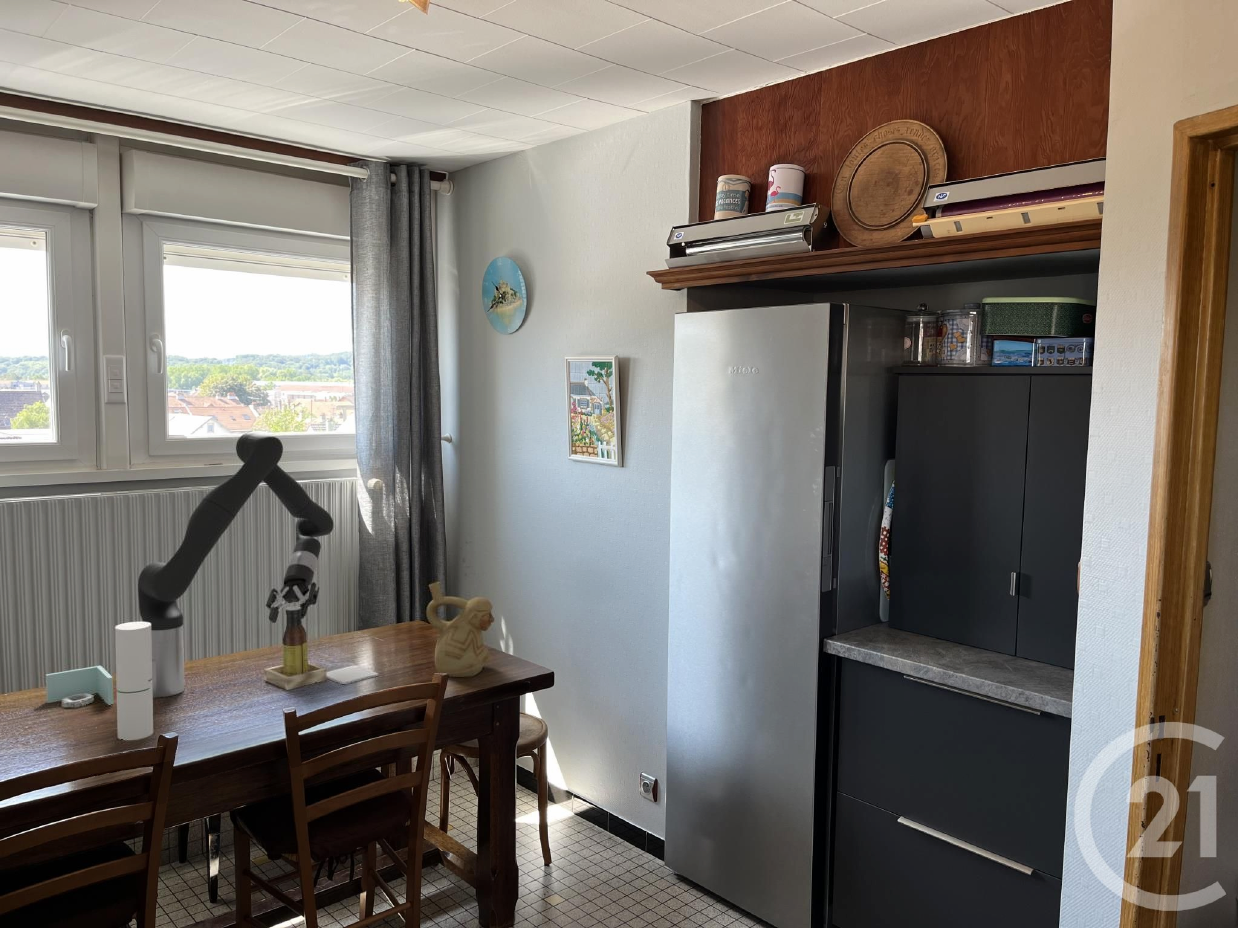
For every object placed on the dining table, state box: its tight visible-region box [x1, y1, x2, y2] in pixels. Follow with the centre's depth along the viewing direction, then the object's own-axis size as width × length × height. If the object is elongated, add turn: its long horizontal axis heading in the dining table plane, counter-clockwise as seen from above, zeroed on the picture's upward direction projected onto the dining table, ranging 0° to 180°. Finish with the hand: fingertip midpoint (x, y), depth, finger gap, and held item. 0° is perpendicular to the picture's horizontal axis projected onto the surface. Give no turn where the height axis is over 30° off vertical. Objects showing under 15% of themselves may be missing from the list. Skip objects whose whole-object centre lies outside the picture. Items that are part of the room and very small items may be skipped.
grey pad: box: [326, 664, 379, 685], centre depth 254 cm, size 11×11×1 cm
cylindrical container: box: [114, 621, 154, 741], centre depth 208 cm, size 7×7×25 cm
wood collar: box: [263, 661, 327, 691], centre depth 249 cm, size 12×12×3 cm
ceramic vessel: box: [425, 581, 495, 678], centre depth 260 cm, size 17×20×25 cm
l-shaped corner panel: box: [45, 665, 114, 708], centre depth 228 cm, size 12×12×8 cm
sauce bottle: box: [282, 605, 309, 677], centre depth 248 cm, size 6×6×20 cm
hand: (286, 619), depth 252 cm, fingers open, 8 cm apart
